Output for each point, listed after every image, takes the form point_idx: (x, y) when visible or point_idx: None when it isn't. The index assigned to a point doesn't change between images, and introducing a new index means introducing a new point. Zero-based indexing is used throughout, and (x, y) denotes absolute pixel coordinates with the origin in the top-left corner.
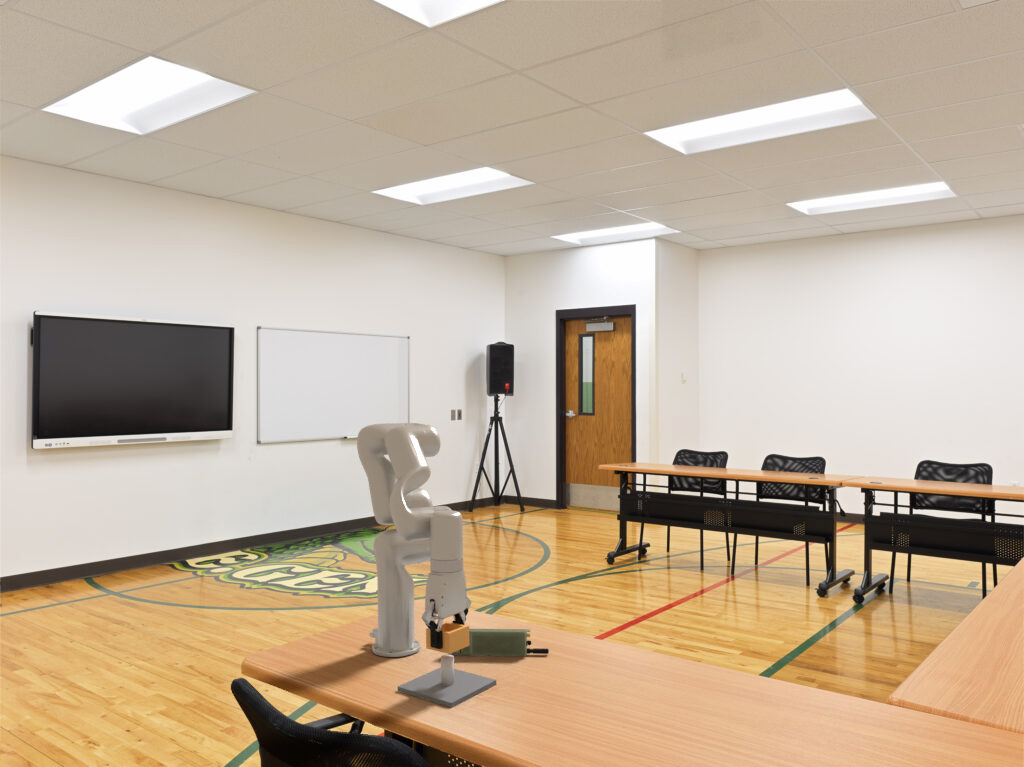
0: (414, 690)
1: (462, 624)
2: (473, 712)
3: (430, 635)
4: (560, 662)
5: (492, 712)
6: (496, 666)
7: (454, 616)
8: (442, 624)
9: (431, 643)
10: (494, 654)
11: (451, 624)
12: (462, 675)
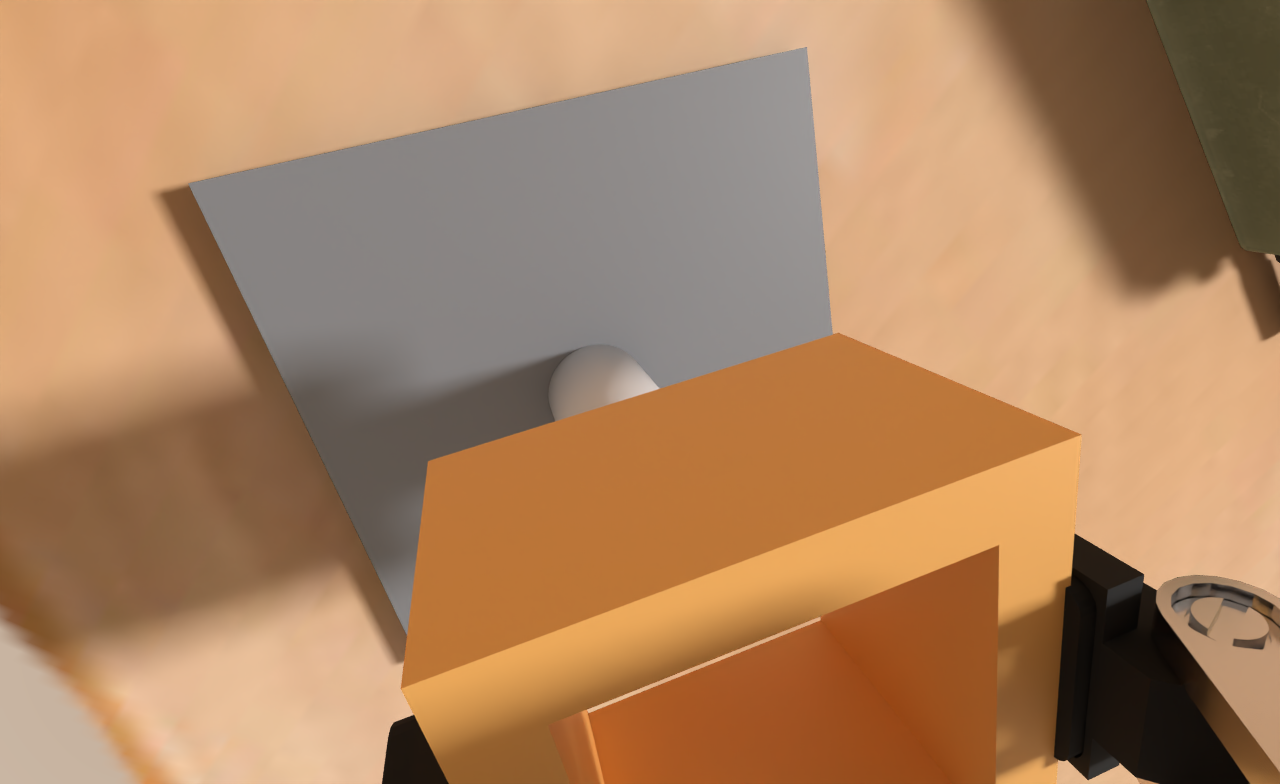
0: (297, 364)
1: (1062, 750)
2: None
3: (415, 755)
4: (1227, 444)
5: None
6: (1040, 272)
7: (1209, 717)
8: (877, 593)
9: (395, 725)
10: (1193, 93)
11: (987, 642)
12: (765, 334)
